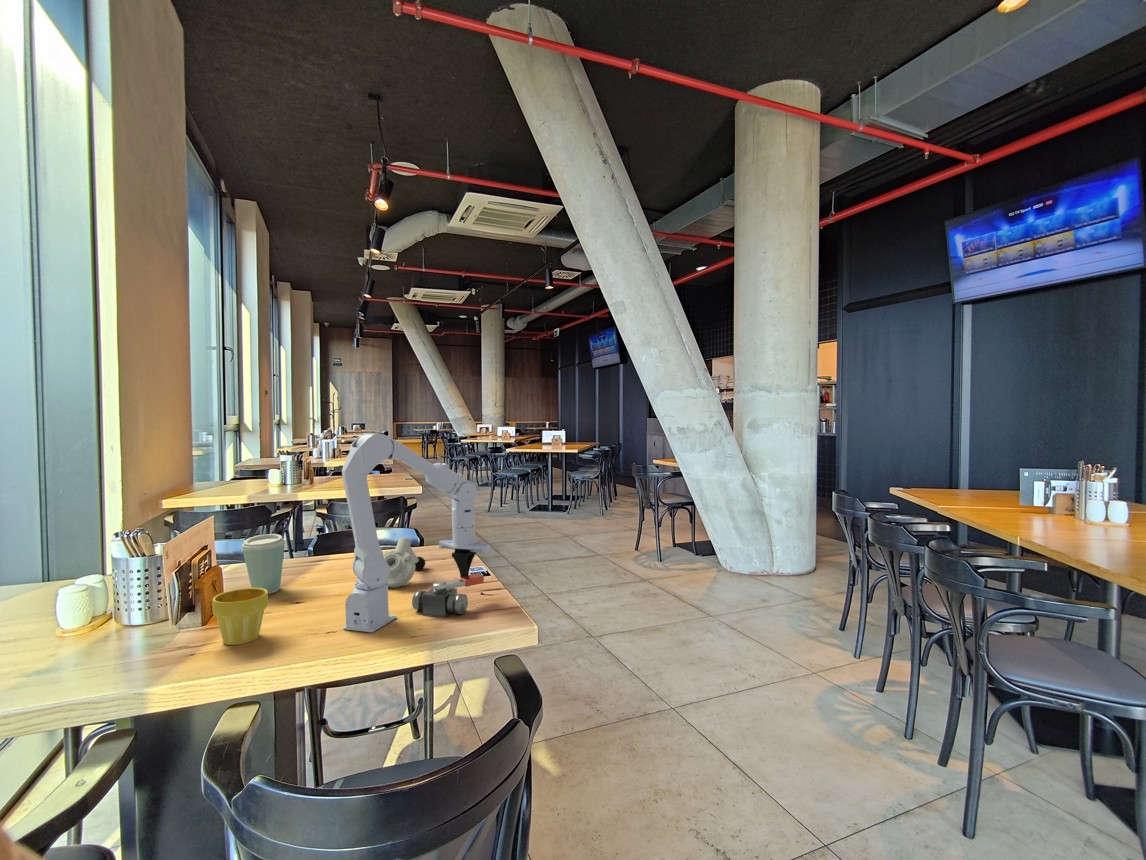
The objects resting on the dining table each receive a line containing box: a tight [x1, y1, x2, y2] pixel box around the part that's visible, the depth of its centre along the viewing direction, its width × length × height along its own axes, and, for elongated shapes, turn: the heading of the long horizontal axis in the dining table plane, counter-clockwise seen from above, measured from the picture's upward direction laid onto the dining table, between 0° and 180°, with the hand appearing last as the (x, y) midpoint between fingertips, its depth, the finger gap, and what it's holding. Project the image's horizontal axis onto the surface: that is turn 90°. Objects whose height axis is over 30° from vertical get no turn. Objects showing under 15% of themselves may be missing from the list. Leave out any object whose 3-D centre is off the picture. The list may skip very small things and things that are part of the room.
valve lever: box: [432, 572, 485, 592], centre depth 136 cm, size 13×3×2 cm, turn 131°
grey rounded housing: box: [383, 537, 426, 589], centre depth 160 cm, size 10×20×15 cm
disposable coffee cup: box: [240, 533, 286, 595], centre depth 150 cm, size 11×11×15 cm
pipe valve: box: [411, 588, 469, 618], centre depth 133 cm, size 6×13×5 cm, turn 74°
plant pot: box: [211, 587, 269, 646], centre depth 118 cm, size 10×10×10 cm
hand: (464, 578), depth 140 cm, fingers closed, pressing on valve lever
